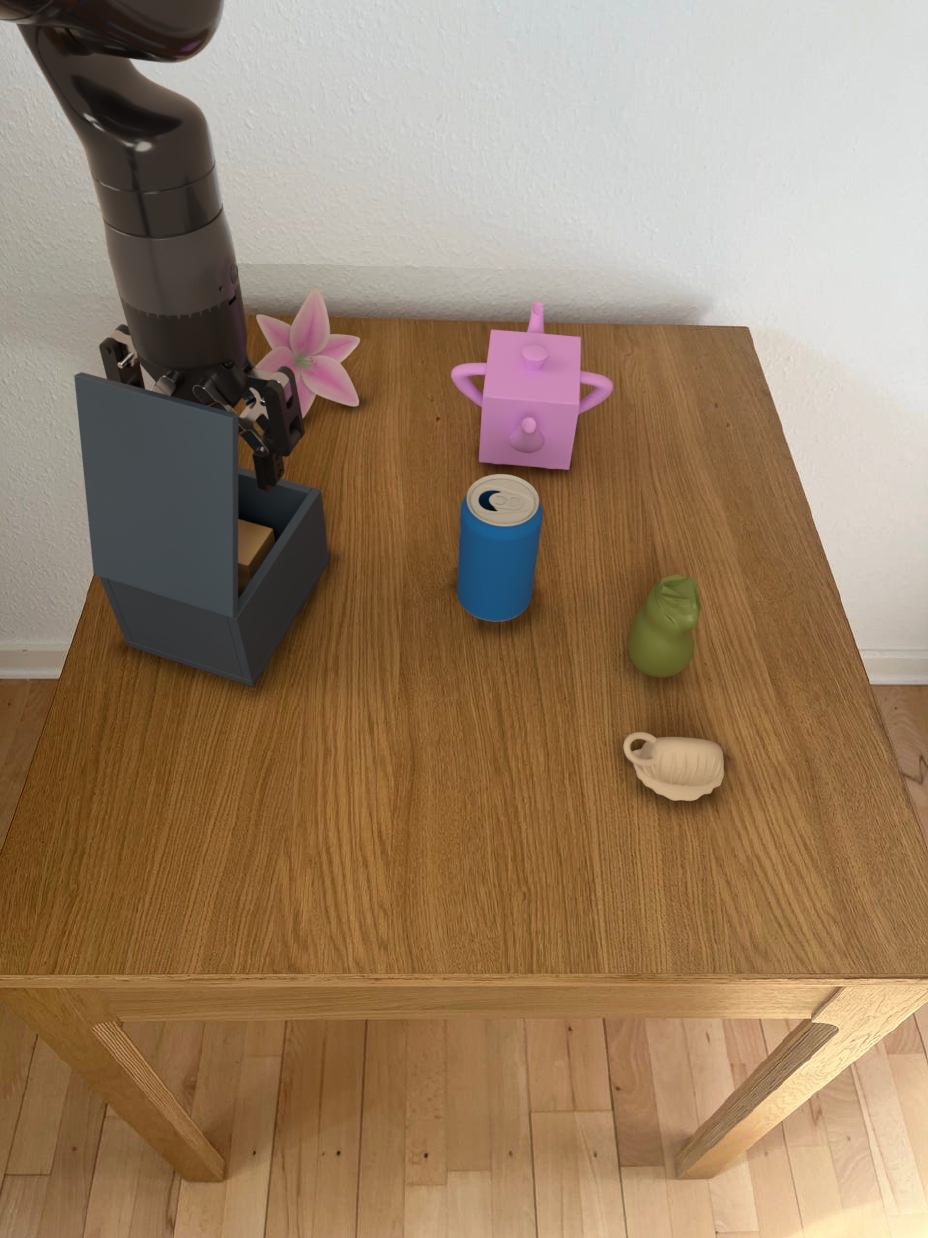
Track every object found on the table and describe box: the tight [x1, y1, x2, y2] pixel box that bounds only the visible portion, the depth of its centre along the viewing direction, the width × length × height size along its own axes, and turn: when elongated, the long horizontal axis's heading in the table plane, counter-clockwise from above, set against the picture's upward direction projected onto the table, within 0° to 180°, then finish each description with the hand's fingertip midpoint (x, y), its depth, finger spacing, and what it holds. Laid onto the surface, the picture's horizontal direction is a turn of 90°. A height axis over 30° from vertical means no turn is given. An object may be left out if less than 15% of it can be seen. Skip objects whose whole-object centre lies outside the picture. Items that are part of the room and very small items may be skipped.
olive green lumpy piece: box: [627, 574, 702, 679], centre depth 74 cm, size 6×5×10 cm
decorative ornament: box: [622, 731, 725, 802], centre depth 70 cm, size 4×8×5 cm, turn 84°
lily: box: [254, 287, 361, 419], centre depth 96 cm, size 12×12×10 cm
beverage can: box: [456, 473, 544, 622], centre depth 77 cm, size 6×6×12 cm
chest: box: [98, 466, 330, 688], centre depth 77 cm, size 15×12×9 cm
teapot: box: [450, 301, 614, 471], centre depth 91 cm, size 15×13×11 cm
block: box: [238, 519, 275, 596], centre depth 80 cm, size 4×4×4 cm
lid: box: [73, 371, 240, 617], centre depth 65 cm, size 15×12×1 cm
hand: (219, 469), depth 72 cm, fingers open, 8 cm apart
